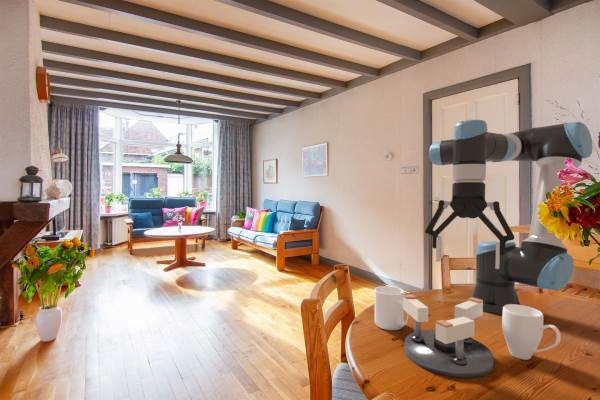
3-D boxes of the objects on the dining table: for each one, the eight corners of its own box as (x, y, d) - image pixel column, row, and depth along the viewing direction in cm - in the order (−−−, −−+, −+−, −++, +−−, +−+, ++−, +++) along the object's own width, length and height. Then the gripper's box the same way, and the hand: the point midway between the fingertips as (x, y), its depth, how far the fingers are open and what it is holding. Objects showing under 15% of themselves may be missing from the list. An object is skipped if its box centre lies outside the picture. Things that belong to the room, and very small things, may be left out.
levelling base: (461, 335, 92) (461, 316, 92) (514, 375, 72) (514, 351, 72) (392, 338, 90) (392, 319, 90) (427, 380, 70) (427, 355, 70)
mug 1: (396, 338, 90) (397, 299, 90) (368, 322, 101) (368, 288, 101) (418, 331, 94) (419, 295, 94) (389, 317, 105) (389, 284, 105)
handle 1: (428, 340, 82) (428, 305, 82) (417, 341, 82) (417, 306, 81) (412, 325, 91) (412, 294, 91) (402, 326, 91) (403, 294, 90)
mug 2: (493, 351, 82) (496, 307, 81) (510, 343, 86) (512, 301, 86) (550, 376, 72) (553, 325, 71) (565, 365, 76) (568, 318, 76)
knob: (463, 351, 76) (463, 314, 76) (473, 357, 74) (474, 318, 73) (435, 360, 72) (435, 320, 72) (445, 366, 70) (446, 325, 70)
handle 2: (465, 342, 81) (465, 307, 81) (454, 338, 83) (454, 303, 83) (482, 333, 86) (482, 300, 86) (471, 329, 89) (472, 297, 88)
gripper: (527, 182, 80) (524, 268, 80) (421, 182, 93) (419, 256, 94) (528, 180, 74) (525, 274, 74) (414, 181, 87) (413, 260, 88)
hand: (466, 264), depth 84 cm, fingers open, 13 cm apart
